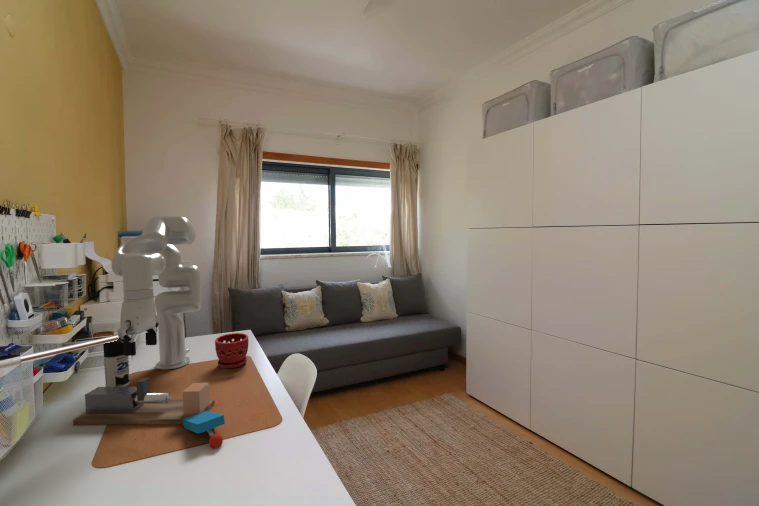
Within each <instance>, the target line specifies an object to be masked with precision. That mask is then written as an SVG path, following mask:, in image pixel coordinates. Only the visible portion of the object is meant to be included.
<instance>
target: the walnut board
mask: <svg viewBox="0 0 759 506" xmlns="http://www.w3.org/2000/svg"><path fill="white" fill-rule="evenodd" d="M215 402H216V401H215V399H209V405H208V406H207V407H206V408H205V409H204V410H203V411H202V412H205V411H210V409H212V407H213V406H214V405H215V404H216V403H215ZM214 403H215V404H214ZM213 404H214V405H213ZM212 405H213V406H212ZM202 412H201V413H202ZM193 415H196V414H183V399H170V401H169V403H163V404H144V405H143V406H142V407H141V408H139V409H138V410H137V411H135V412H134V413H133V414H86V411H85V412H84V413H83V414H80V415H78V417H75V418H74V419H73V420H72V425H73V426H107V425H108V426H109V425H110V424H145V425H183V419H184V418H187V417H190V416H193ZM110 426H111V425H110Z"/></svg>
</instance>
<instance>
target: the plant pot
mask: <svg viewBox="0 0 759 506" xmlns="http://www.w3.org/2000/svg"><path fill="white" fill-rule="evenodd" d="M214 345H215V346H214V348H215V353H216V357H217V359H218V360H217V365H218V366H219V367H221V368H224V369H235V368H238V367H242V366H243V365H245V364H246V362H247V361H248V357H247V354H248V351H249V350H248V349H249V335H248V334H246V333H242V332H235V333H234V332H233V333H227V334H223V335H220V336H217V338H215V340H214Z"/></svg>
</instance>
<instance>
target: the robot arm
mask: <svg viewBox="0 0 759 506" xmlns="http://www.w3.org/2000/svg"><path fill="white" fill-rule="evenodd" d="M196 234H197V233H196V229H195V227H194V225H193V224H192V222H191V221H190V220H189V219H188V218H187V217H185V216H181V215H157V216H153V217H151V218H150V219H148V221H147V222H146V225H145V227H144V229H143V231H142V233H141V234H140V235H137V236H136V237H135V236H134V237H133V238H131V239H129V240H127V241H124V242H123V243H121V244H120V245H119V246H118V248H117V249H116V251H115V253H114V255H113V256H112V260H111V270H112V272H113V274H114V275H116V276H118V277H122V290H123V291H122V293H123V295H122V296H123V301H122V303H121V308H120V318H119V319H120V321H119V322H120V325H119V328H118V329H117V331H116V333H117V335H118V337H119V338H120V340H122V343H123V348H124V356H128V357H129V356H131V357H133V356H136V355H137V346H136V341H135V339H136V337H137V335H138V334H141V333H144V332H145V333H144V335H145V345H146V346H156V345H158V348H159V352H158V353H159V361H157V362H156V363H155V368H156V369H157V370H163V371H164V370H174V369H178V368H182V367H185V366H186V365H188V364H190V361H191V359H190V357H188V356H187V353H190V348H188V347H187V348H186V337H185V336H186V335H185V333H186V331H185V321H184V319H183V318H182V317H181V316H180V315H179V314H182V313H183V314H184V313H185V314H186V313H196V312H199V311H200V310H201V308H202V306H203V295H202V290H203V289H202V274H201V269H200V268H199V267H198V266H197V265H194V264H182V254H181V251H179V249H178V248H177V247H176V246H175V245H191V244H193V243H194V242H195V240H196V236H197V235H196ZM154 276H157V277H158V284H159V286H160V287H162V288H166V289H170V288H171V289H175V288H177V289H179V288H188V289H187V290H186V289H183V290H169V291H162V292H159V293H158V294H157V295H156V296H155V297H154V279H153V278H154ZM157 332H158V334H157ZM157 335H158V336H157ZM157 337H158V338H157Z"/></svg>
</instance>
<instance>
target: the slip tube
mask: <svg viewBox="0 0 759 506" xmlns="http://www.w3.org/2000/svg"><path fill="white" fill-rule="evenodd" d="M136 387H137V393H135V394H134V395H133V404H163V403H169V401H170V400H172V399H171V398H172V394H171V393H170V392H151V388H150V387H151V383H150V377H142V378H140V379H138V380H137V381H136Z"/></svg>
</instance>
